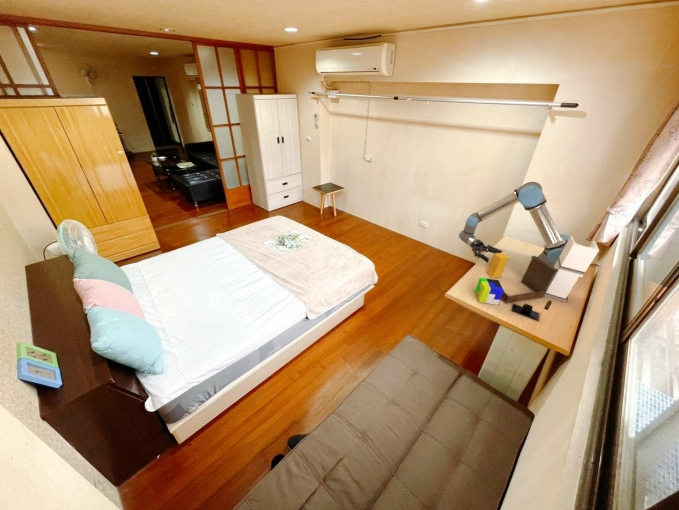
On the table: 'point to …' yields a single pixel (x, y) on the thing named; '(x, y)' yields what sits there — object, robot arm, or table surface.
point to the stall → (534, 280)
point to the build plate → (526, 311)
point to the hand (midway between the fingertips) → (497, 259)
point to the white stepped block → (570, 268)
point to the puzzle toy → (489, 291)
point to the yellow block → (497, 265)
